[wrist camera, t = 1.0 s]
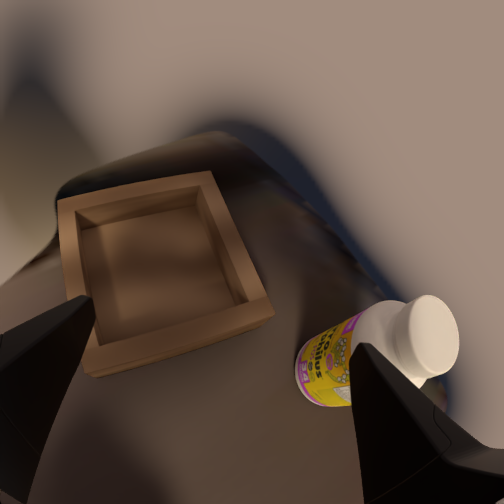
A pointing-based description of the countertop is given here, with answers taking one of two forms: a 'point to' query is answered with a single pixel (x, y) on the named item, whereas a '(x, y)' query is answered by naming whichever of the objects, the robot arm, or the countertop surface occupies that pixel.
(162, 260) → the box
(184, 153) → the countertop surface
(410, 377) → the supplement bottle
